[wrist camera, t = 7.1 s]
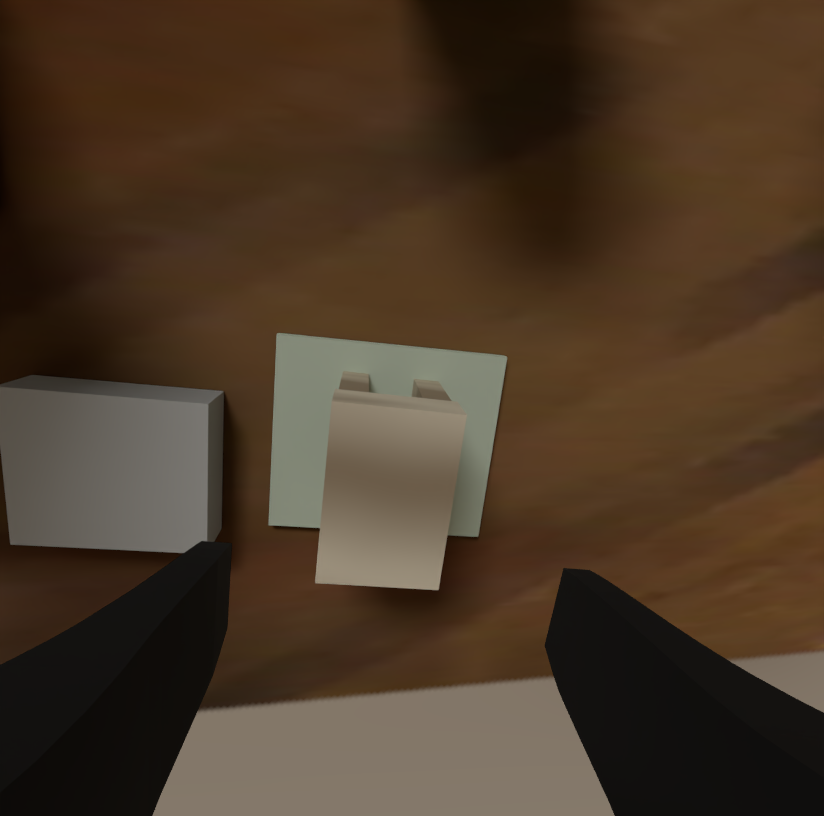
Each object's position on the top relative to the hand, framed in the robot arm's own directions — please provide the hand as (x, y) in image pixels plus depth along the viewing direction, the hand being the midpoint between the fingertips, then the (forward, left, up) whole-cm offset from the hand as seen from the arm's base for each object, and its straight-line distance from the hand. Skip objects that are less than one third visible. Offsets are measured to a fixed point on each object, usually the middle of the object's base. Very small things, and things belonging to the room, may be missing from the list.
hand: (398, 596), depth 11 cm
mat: (0, 0, -10) cm, 10 cm away
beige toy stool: (0, 0, -10) cm, 10 cm away
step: (+2, -10, -10) cm, 14 cm away
